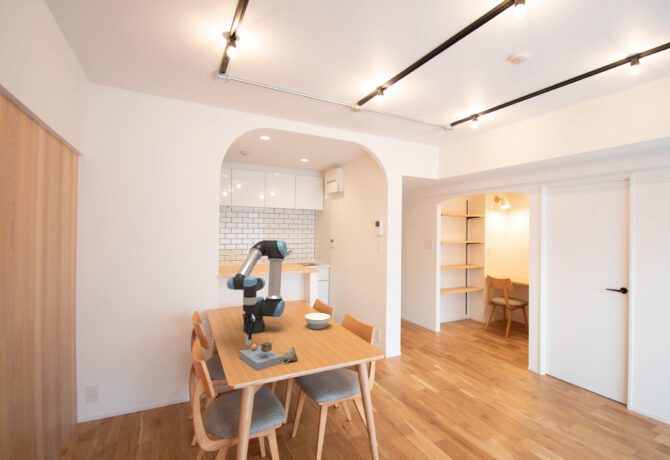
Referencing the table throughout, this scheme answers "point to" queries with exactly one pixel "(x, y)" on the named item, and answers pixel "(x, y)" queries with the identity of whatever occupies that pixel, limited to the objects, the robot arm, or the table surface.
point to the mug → (289, 355)
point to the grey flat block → (260, 358)
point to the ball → (253, 346)
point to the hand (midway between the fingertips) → (248, 344)
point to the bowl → (317, 320)
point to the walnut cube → (266, 347)
